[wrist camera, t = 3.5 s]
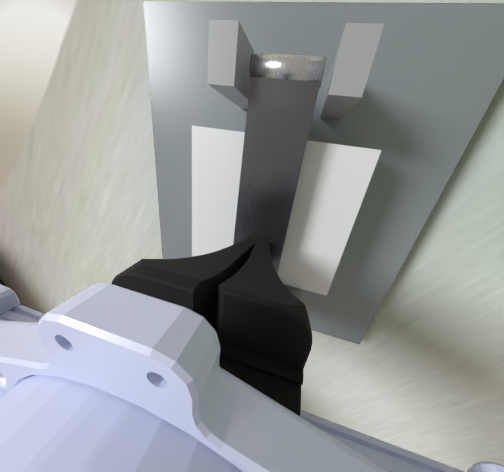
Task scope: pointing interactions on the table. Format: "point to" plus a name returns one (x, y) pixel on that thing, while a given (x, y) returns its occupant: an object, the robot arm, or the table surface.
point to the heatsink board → (322, 132)
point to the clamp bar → (275, 144)
